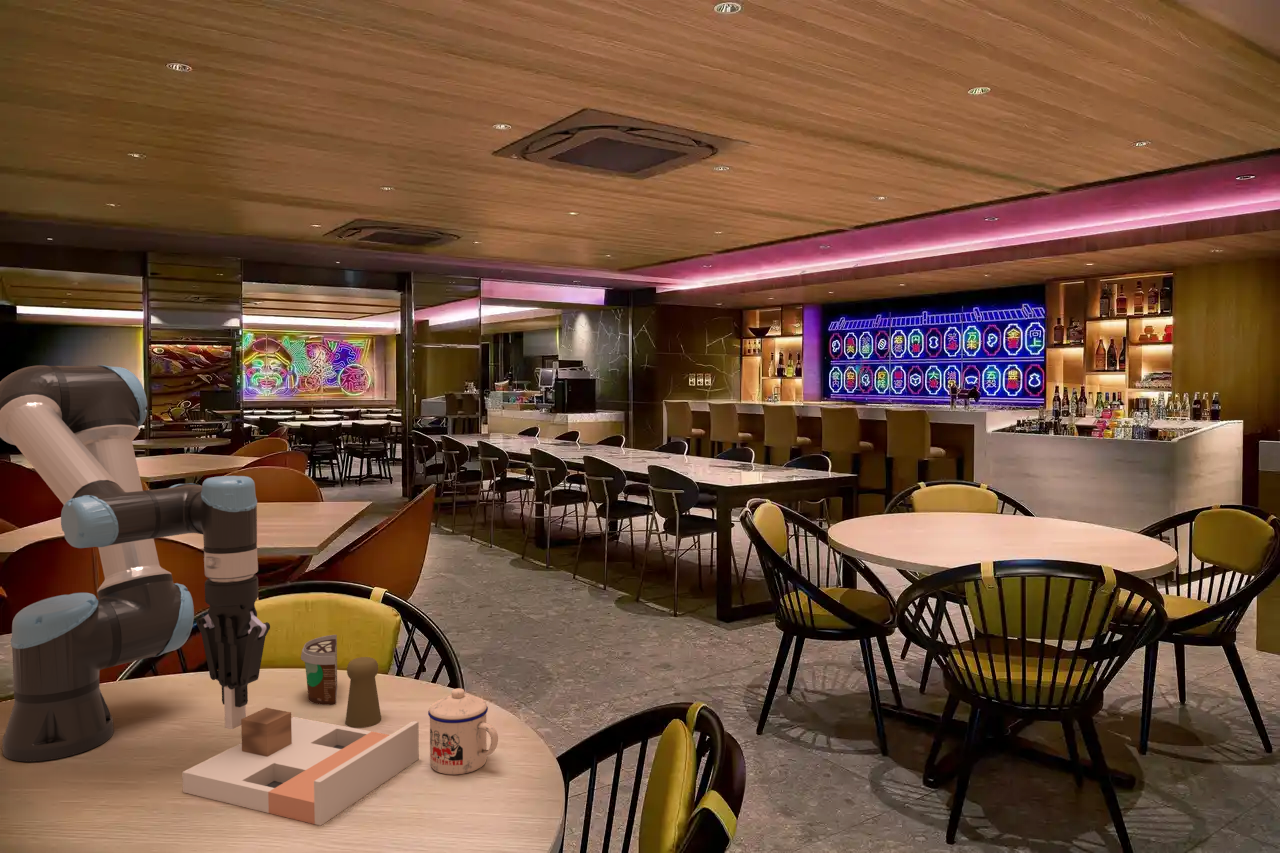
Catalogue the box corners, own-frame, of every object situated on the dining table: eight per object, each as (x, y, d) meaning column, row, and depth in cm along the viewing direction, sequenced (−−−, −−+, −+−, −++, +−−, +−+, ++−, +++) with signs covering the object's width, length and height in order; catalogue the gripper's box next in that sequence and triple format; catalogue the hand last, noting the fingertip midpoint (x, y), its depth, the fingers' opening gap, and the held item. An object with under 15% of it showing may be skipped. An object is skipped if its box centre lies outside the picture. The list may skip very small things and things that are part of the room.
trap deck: (182, 792, 127) (181, 751, 127) (294, 734, 148) (293, 699, 147) (320, 825, 118) (319, 782, 118) (418, 759, 139) (418, 721, 138)
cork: (370, 729, 150) (369, 666, 149) (338, 726, 151) (337, 663, 150) (387, 715, 156) (386, 654, 155) (356, 712, 157) (355, 652, 156)
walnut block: (241, 751, 134) (241, 719, 134) (266, 738, 139) (266, 707, 138) (267, 756, 132) (266, 724, 132) (291, 743, 137) (291, 712, 137)
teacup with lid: (416, 768, 135) (415, 694, 135) (455, 746, 143) (454, 676, 143) (477, 786, 130) (477, 708, 129) (514, 762, 138) (514, 689, 137)
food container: (303, 687, 169) (302, 636, 169) (337, 684, 171) (336, 633, 171) (299, 711, 158) (298, 656, 157) (335, 707, 160) (334, 653, 159)
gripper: (179, 578, 135) (184, 728, 136) (244, 585, 130) (248, 741, 132) (219, 568, 142) (223, 710, 143) (282, 574, 137) (285, 722, 139)
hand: (235, 725), depth 138 cm, fingers closed
